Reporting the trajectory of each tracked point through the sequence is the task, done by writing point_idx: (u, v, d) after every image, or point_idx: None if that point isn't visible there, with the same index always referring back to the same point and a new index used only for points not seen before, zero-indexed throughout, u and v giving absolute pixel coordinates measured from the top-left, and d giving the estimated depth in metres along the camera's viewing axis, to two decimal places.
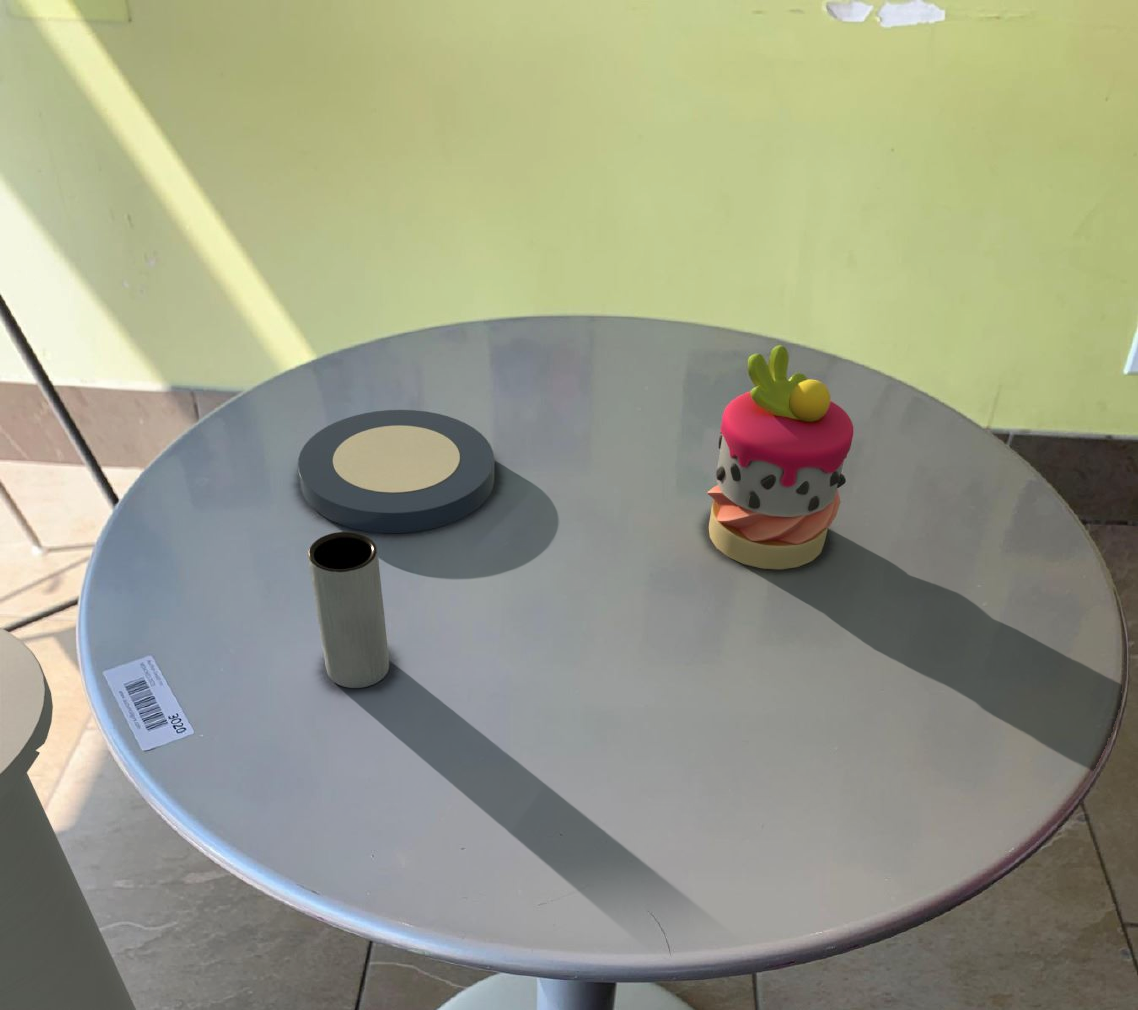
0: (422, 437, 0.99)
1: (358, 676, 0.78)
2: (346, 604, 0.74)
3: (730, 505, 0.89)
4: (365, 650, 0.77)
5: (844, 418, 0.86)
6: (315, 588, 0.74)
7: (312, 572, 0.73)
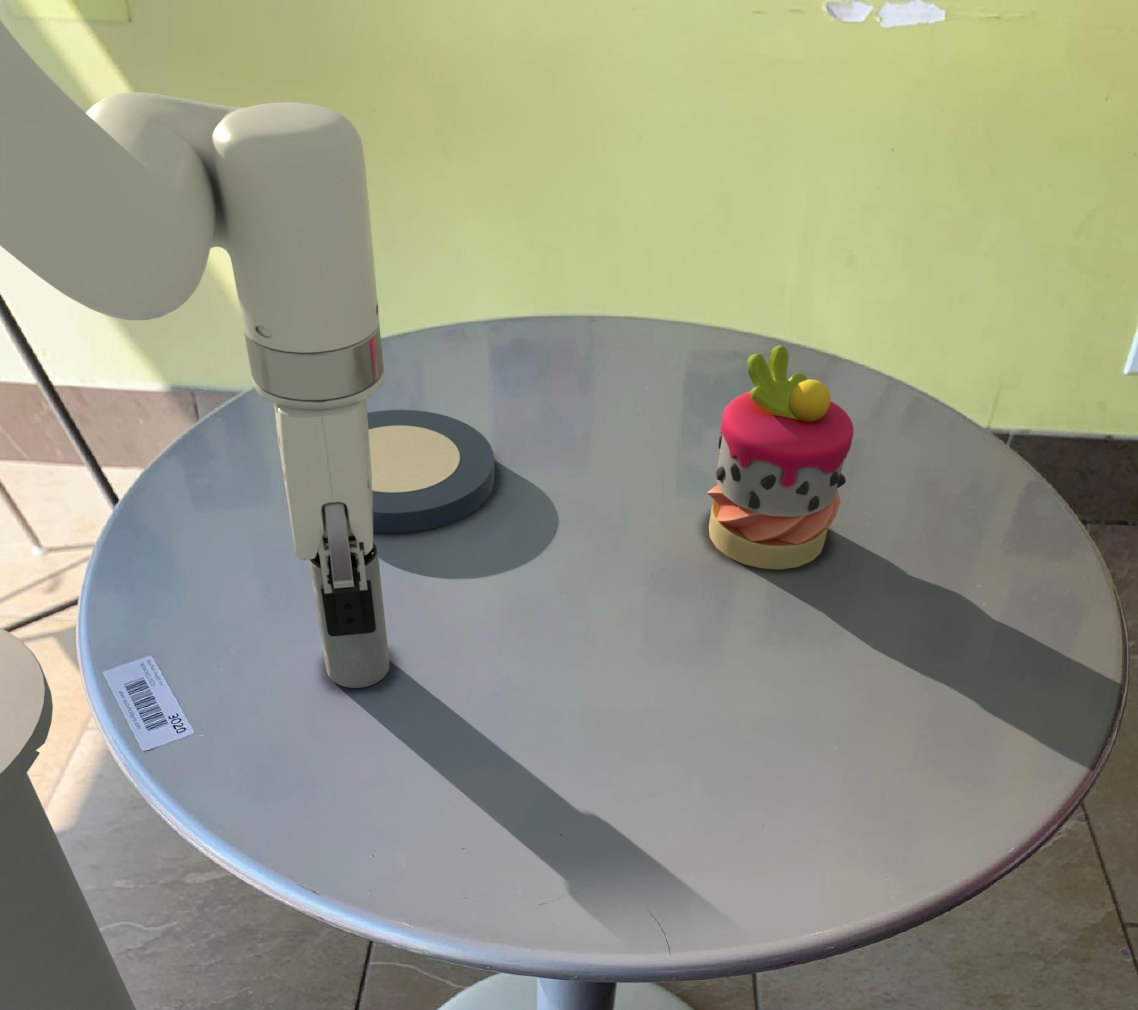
0: (422, 437, 0.99)
1: (358, 676, 0.78)
2: None
3: (730, 505, 0.89)
4: (365, 650, 0.77)
5: (844, 418, 0.86)
6: (315, 588, 0.74)
7: (312, 572, 0.73)
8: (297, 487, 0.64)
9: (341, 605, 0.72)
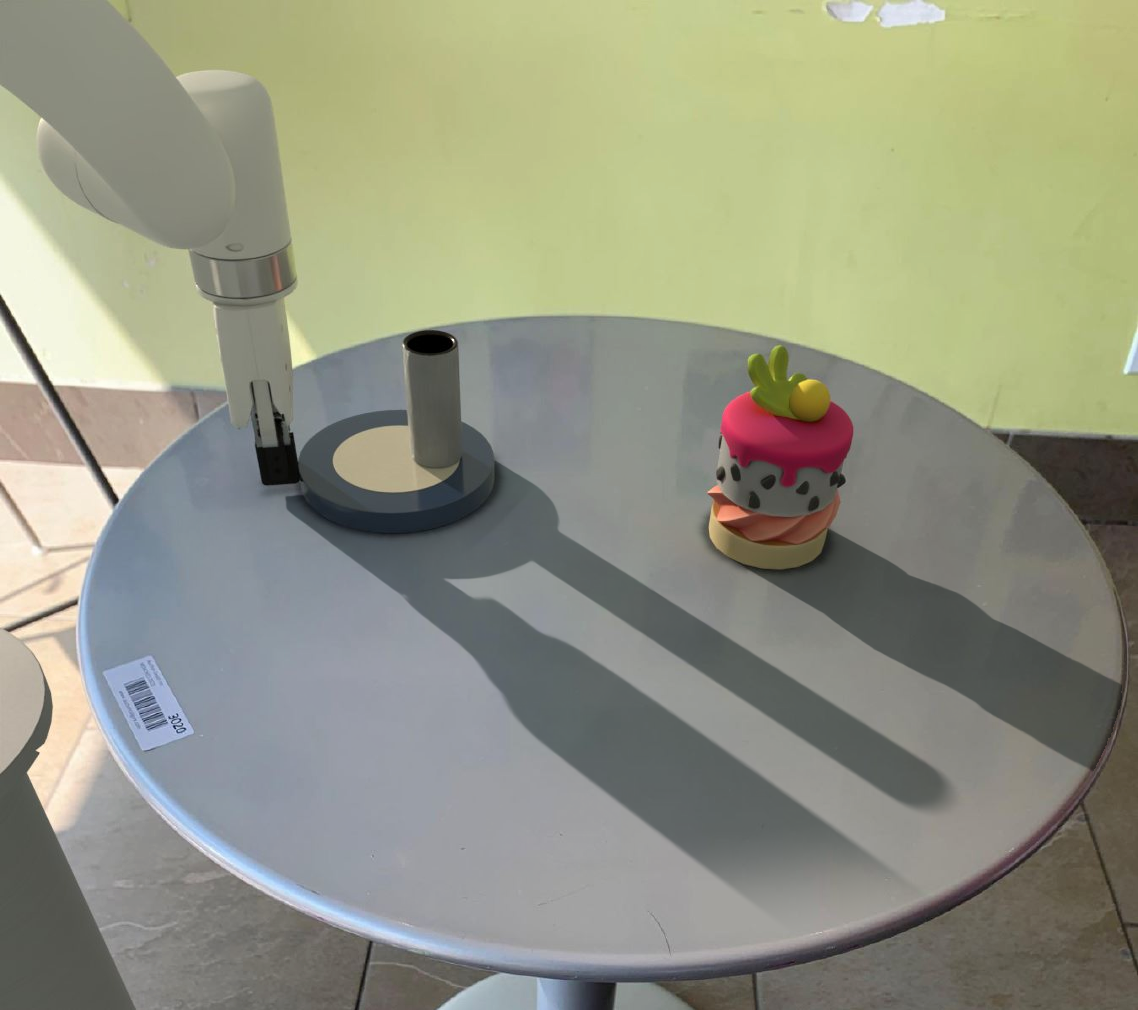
0: None
1: (438, 456, 0.95)
2: (433, 386, 0.90)
3: (730, 505, 0.89)
4: (445, 431, 0.94)
5: (844, 418, 0.86)
6: (407, 374, 0.91)
7: (405, 359, 0.90)
8: (230, 367, 0.83)
9: (270, 457, 0.93)
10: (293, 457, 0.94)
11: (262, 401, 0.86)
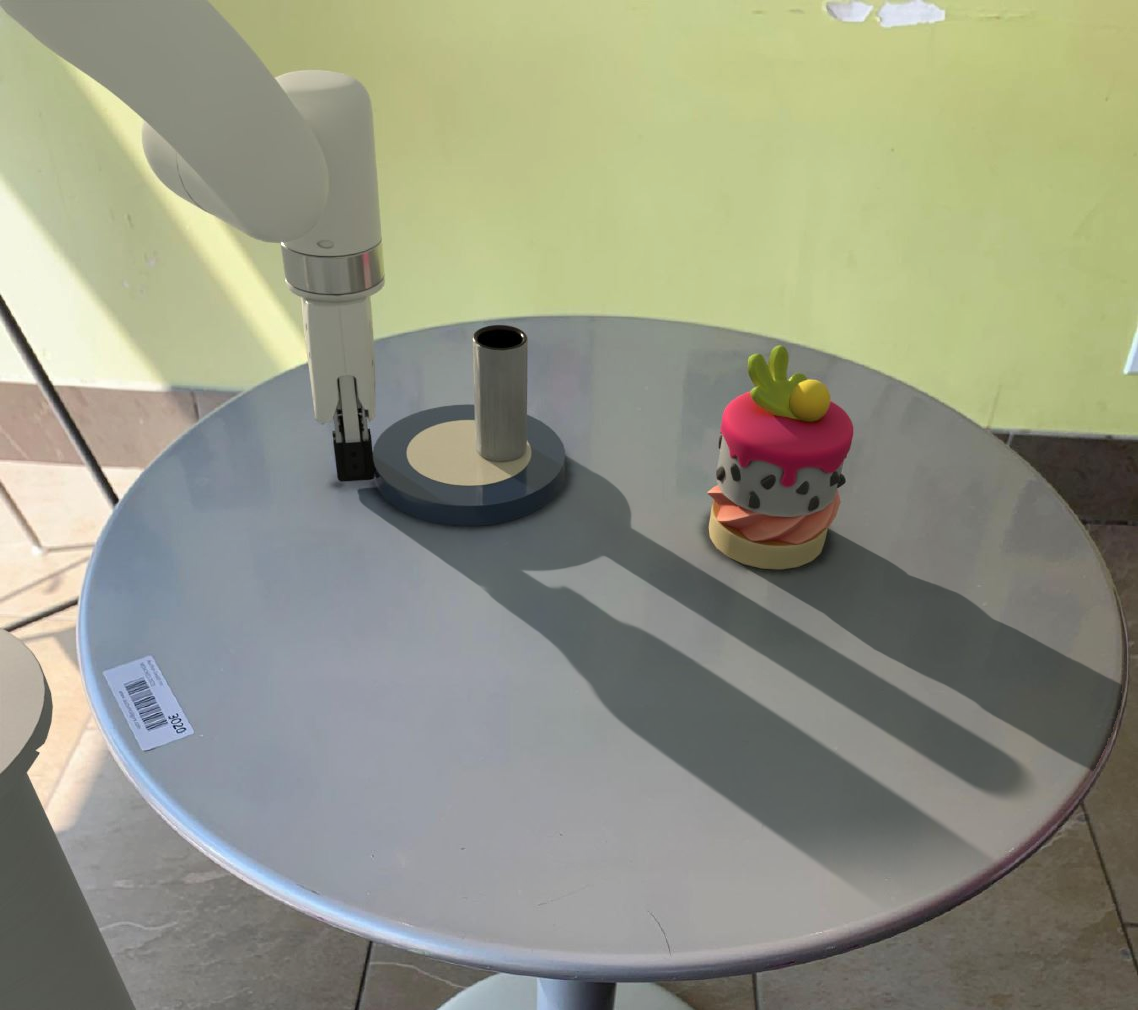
0: None
1: (505, 450, 0.96)
2: (503, 380, 0.91)
3: (730, 505, 0.89)
4: (513, 425, 0.95)
5: (844, 418, 0.86)
6: (477, 368, 0.92)
7: (476, 354, 0.91)
8: (319, 362, 0.85)
9: (348, 453, 0.94)
10: (370, 453, 0.95)
11: (347, 397, 0.87)
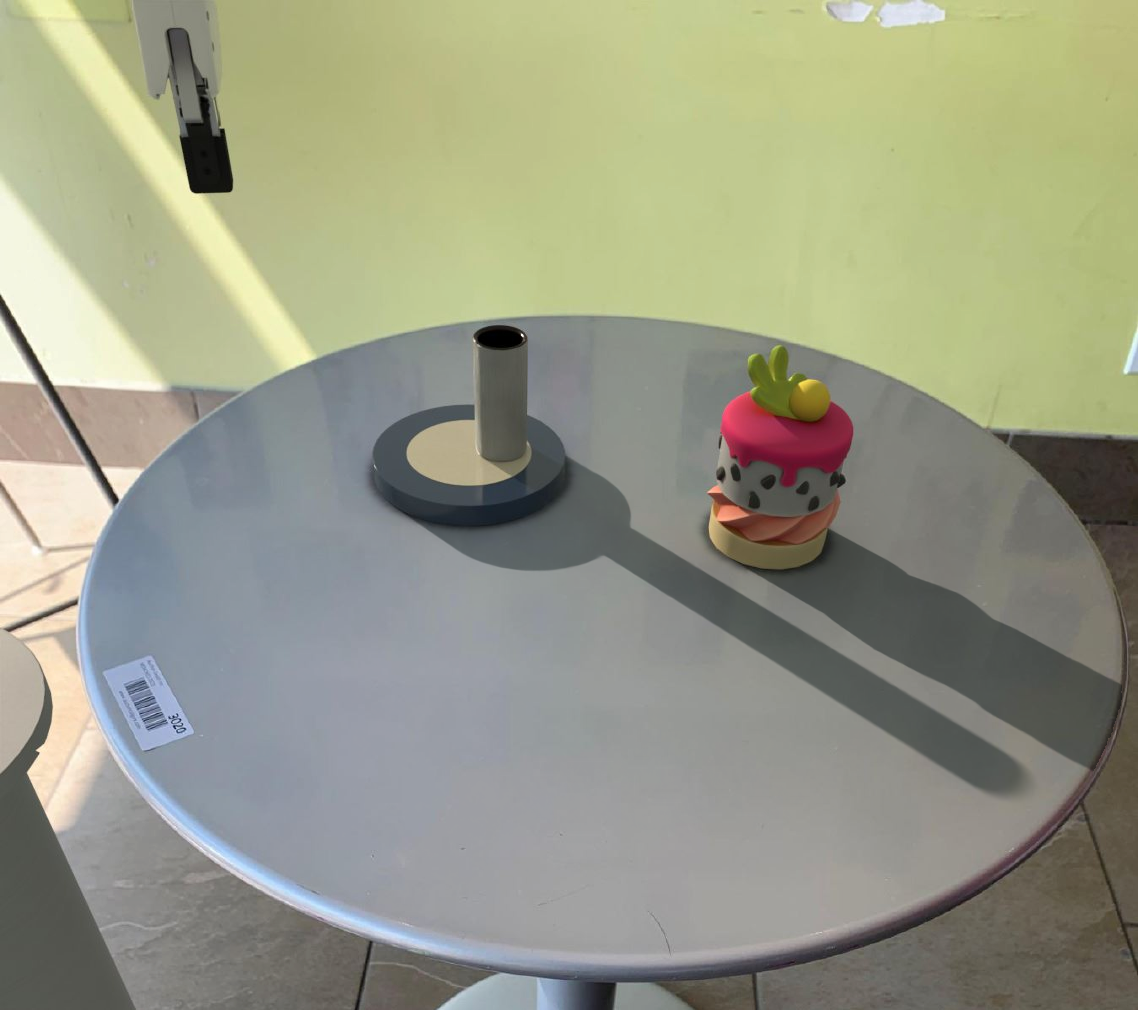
0: None
1: (505, 450, 0.96)
2: (503, 380, 0.91)
3: (730, 505, 0.89)
4: (513, 425, 0.95)
5: (844, 418, 0.86)
6: (477, 368, 0.92)
7: (476, 354, 0.91)
8: (141, 8, 0.73)
9: (197, 152, 0.82)
10: (224, 156, 0.83)
11: (181, 60, 0.75)
